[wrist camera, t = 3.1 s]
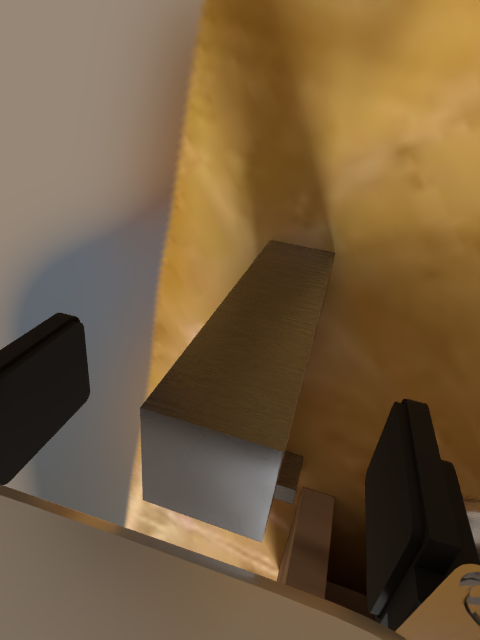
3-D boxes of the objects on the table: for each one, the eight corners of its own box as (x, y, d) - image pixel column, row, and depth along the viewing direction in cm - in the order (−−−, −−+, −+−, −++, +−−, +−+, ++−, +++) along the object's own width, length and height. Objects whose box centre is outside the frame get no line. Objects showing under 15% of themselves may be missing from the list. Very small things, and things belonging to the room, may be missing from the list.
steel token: (437, 481, 22) (442, 506, 21) (555, 517, 21) (568, 545, 20) (403, 542, 25) (405, 567, 24) (505, 576, 24) (513, 604, 23)
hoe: (249, 236, 18) (97, 394, 8) (357, 257, 17) (336, 467, 7) (223, 446, 25) (124, 670, 15) (299, 470, 24) (247, 726, 14)
